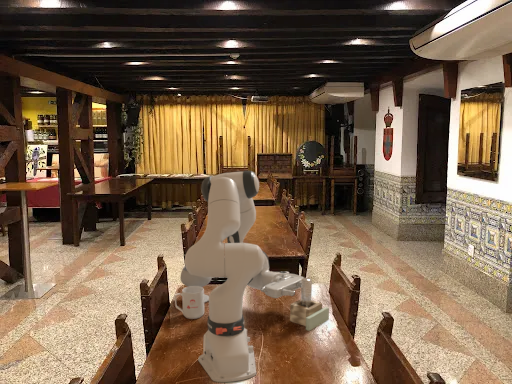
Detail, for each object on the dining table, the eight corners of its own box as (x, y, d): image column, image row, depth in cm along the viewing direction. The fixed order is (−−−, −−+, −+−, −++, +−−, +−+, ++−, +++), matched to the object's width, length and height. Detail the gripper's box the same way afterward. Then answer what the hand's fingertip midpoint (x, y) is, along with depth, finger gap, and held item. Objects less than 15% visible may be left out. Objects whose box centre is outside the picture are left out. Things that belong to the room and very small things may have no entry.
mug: (204, 310, 187) (203, 285, 186) (204, 319, 178) (204, 292, 177) (175, 312, 185) (174, 286, 184) (174, 321, 177) (173, 294, 175)
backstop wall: (305, 330, 167) (305, 317, 167) (325, 318, 178) (325, 306, 177) (309, 331, 166) (309, 318, 166) (328, 319, 177) (329, 307, 176)
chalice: (208, 292, 208) (207, 262, 206) (215, 303, 195) (214, 270, 193) (179, 296, 204) (178, 265, 202) (183, 307, 191) (182, 274, 189)
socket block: (290, 321, 175) (290, 304, 174) (303, 314, 182) (303, 297, 181) (309, 327, 169) (309, 310, 168) (321, 319, 176) (322, 303, 175)
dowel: (312, 314, 174) (313, 280, 172) (303, 315, 173) (303, 281, 171) (308, 310, 177) (309, 277, 176) (299, 311, 176) (300, 278, 175)
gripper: (257, 282, 177) (285, 289, 168) (288, 270, 192) (315, 276, 183) (257, 297, 177) (285, 305, 168) (288, 284, 193) (314, 291, 184)
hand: (301, 290), depth 176 cm, fingers open, 8 cm apart
